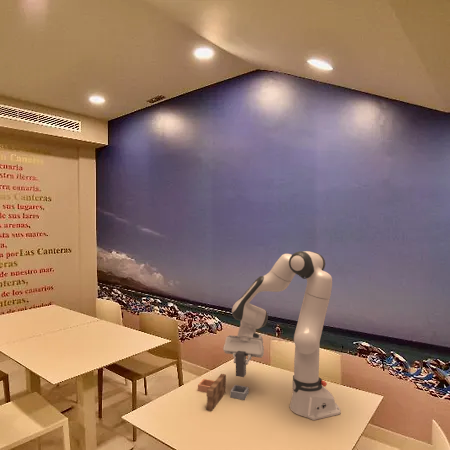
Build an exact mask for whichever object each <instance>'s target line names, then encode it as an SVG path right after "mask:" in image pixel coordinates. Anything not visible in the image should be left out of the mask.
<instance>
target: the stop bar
mask: <svg viewBox="0 0 450 450" xmlns="http://www.w3.org/2000/svg"><path fill="white" fill-rule="evenodd" d="M235 358H236V363H235V377H240V378H244V377H245V376H246V375H247V365H246V364H244V362H245V360H247V356H246V352H245V351H237V353H236V357H235Z"/></svg>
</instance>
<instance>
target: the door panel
mask: <svg viewBox="0 0 450 450" xmlns="http://www.w3.org/2000/svg"><path fill="white" fill-rule="evenodd" d="M226 378H227V373H226V374H225V373H221V374H220V375H219V376H218V377H216V379H215V380H214V381H215V382H214V383H213V384H212V385H211V386H210V388H209V389H208V390H207V393H206V410H207V411H210V412H212V411H213V410H214V409H215V408H216V407H217V405H218V404H219V402H220V401H221V399H222V398H223V397H224V395H225V394H226V391H227V390H226V389H227V388H226V387H227V386H226V385H227V384H226V383H227V381H226V380H227V379H226Z"/></svg>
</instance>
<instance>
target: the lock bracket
mask: <svg viewBox="0 0 450 450" xmlns="http://www.w3.org/2000/svg"><path fill="white" fill-rule="evenodd" d="M215 381H216V380H212V379H209V378H208V379H207V378H203V379H202V380H201V381H200V382H199V383H198V384H197V392H200V393H201V392H202V393H206V394H207V390H208V389H209V388H210V386H211V385H212V384H213V383H214V382H215Z"/></svg>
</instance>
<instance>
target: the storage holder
mask: <svg viewBox="0 0 450 450" xmlns="http://www.w3.org/2000/svg"><path fill="white" fill-rule="evenodd" d="M249 388H250V387H249V386H244V385H240V384H239V385H238V384H234V385H233V386H232V388H231V389H230V392H229V395H230V396H229V398H232V399H236V400H242V401H245V400H246V399H247V396H248V395H249V393H250V392H249V391H250V389H249Z"/></svg>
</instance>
